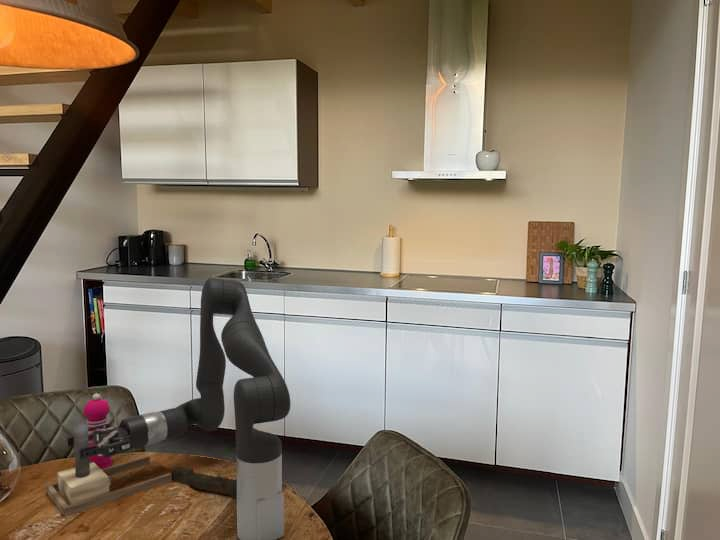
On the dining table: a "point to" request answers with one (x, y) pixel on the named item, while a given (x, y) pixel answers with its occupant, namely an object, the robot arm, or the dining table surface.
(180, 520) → the dining table surface
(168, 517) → the dining table surface
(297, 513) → the dining table surface
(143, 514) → the dining table surface
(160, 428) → the robot arm
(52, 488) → the bay
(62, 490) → the joystick
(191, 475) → the hand tool
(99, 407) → the pepper mill
